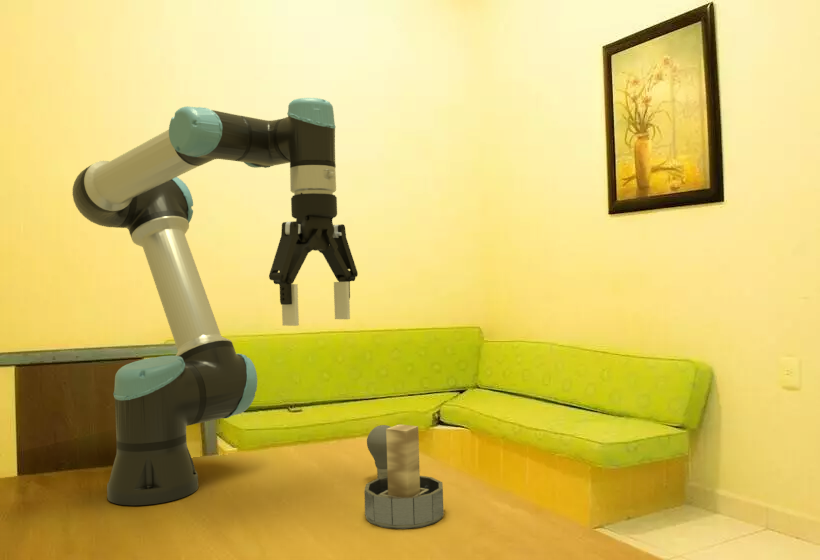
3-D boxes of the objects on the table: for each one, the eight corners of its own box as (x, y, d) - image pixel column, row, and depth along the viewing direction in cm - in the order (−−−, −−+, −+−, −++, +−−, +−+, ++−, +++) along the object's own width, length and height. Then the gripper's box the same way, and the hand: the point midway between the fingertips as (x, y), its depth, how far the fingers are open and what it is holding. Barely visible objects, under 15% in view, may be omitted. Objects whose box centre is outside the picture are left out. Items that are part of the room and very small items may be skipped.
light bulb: (397, 485, 126) (395, 429, 126) (364, 484, 128) (362, 428, 128) (404, 476, 132) (402, 422, 132) (372, 475, 134) (371, 421, 133)
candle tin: (350, 521, 109) (349, 491, 109) (393, 498, 120) (392, 471, 119) (418, 534, 103) (417, 503, 103) (457, 509, 113) (456, 480, 113)
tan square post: (388, 512, 111) (386, 429, 110) (401, 506, 114) (398, 424, 114) (408, 516, 109) (406, 431, 109) (420, 509, 112) (418, 426, 112)
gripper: (280, 185, 106) (284, 328, 107) (374, 197, 128) (378, 317, 128) (243, 190, 110) (247, 328, 111) (341, 201, 132) (344, 316, 132)
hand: (317, 322), depth 119 cm, fingers open, 13 cm apart
